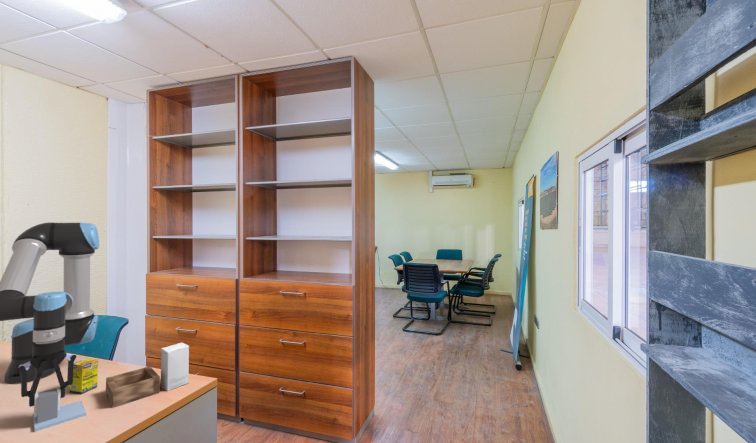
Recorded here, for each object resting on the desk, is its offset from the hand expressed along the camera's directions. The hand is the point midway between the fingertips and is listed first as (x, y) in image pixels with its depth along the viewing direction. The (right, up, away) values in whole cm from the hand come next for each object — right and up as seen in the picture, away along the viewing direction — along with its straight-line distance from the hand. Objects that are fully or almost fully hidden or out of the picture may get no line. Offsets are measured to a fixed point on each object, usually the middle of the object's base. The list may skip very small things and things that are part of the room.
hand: (47, 411), depth 107 cm
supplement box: (-6, -3, +20) cm, 21 cm away
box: (+15, -3, +17) cm, 23 cm away
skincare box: (+27, -4, +24) cm, 36 cm away
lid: (+2, -3, +2) cm, 4 cm away
